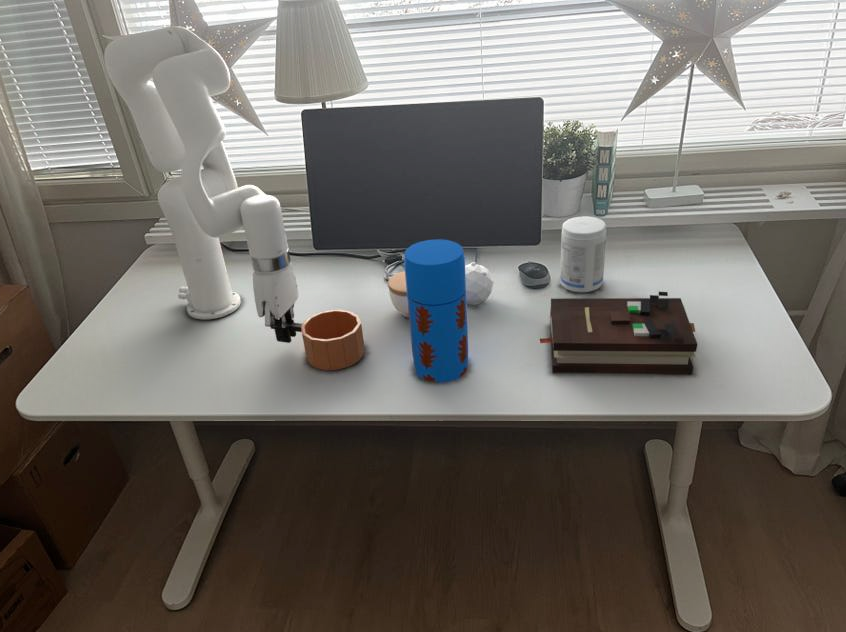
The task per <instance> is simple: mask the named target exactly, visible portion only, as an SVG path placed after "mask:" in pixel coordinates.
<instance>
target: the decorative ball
mask: <svg viewBox="0 0 846 632" xmlns="http://www.w3.org/2000/svg"><path fill="white" fill-rule="evenodd" d="M465 277H466V303H467V305H473V306H476V305H479V304H481V303H483V302H486V301H487V300H488V298H489V296H490V295H491V294H492V292H493V287H494V283H495V282H494V280H493V277H492V275H491V272H490V270H489V269H487V268H486V267H485V266H483V265H481V264H477V263H476V262H475V261H472V262H471V263H469V264H465Z"/></svg>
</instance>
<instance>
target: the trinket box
mask: <svg viewBox="0 0 846 632" xmlns="http://www.w3.org/2000/svg"><path fill="white" fill-rule="evenodd" d="M387 287H388V292H389V297H390V300H391V303H392V305H393V307H394V308H395V310H396V311H398V312H399V313H400V314H401V315H402V316H403V317H405V318H408V319H409V311H408V300H407V289H406V278H405V270H402V271H400V272H396V273H395V274H393V275H392V276H391V277H390V278H389V279H388V281H387Z"/></svg>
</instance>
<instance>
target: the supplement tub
mask: <svg viewBox="0 0 846 632" xmlns="http://www.w3.org/2000/svg"><path fill="white" fill-rule="evenodd" d="M560 241H561V242H560V275H559V276H560V284H561V286H562V287H563V288H564V289H566V290H567V291H570V292H573V293H574V292H575V293H590V292H593V291H595V290H598V289H599V288H601V286H602V285H603V284H604V274H605V273H604V272H605V258H606V242H607V224H606V222H605V221H604V220H602V219H600V218H599V217H595V216H576V217H572V218H569V219H567V220H565V221H563V223H562V228H561V240H560Z"/></svg>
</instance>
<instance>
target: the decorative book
mask: <svg viewBox="0 0 846 632" xmlns="http://www.w3.org/2000/svg"><path fill="white" fill-rule="evenodd" d="M668 296H669V295H668V291H658V294H657V295H656V294H655V295H653V294H649V298H648V297H616V298H615V297H614V298H611V297H608V298H607V297H605V298H603V297H602V298H601V297H599V298H598V297H597V298H596V297H595V298H594V297H593V298H592V297H591V298H589V297H588V298H587V297H586V298H585V297H583V298H574V297H573V298H562V297H561V298H550V314H549V336H550V337H546V338H539V343H540V344H550V353H551V370H552V371H551V372H552V374H612V375H613V374H614V375H617V374H618V375H619V374H620V375H683V376H684V375H685V376H686V375H689V376H692V375H693V372H694V365H693V362H692V358H697V356H696V354H695V353H697V349H698V341H697V339H696V336H695V334H694V333H696V328H695V323H694V322H690V319H689V317H688V314H687V311H686V309H685V306H684V303H683V301H682V300H683V299H682V298H681V297H668Z"/></svg>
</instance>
